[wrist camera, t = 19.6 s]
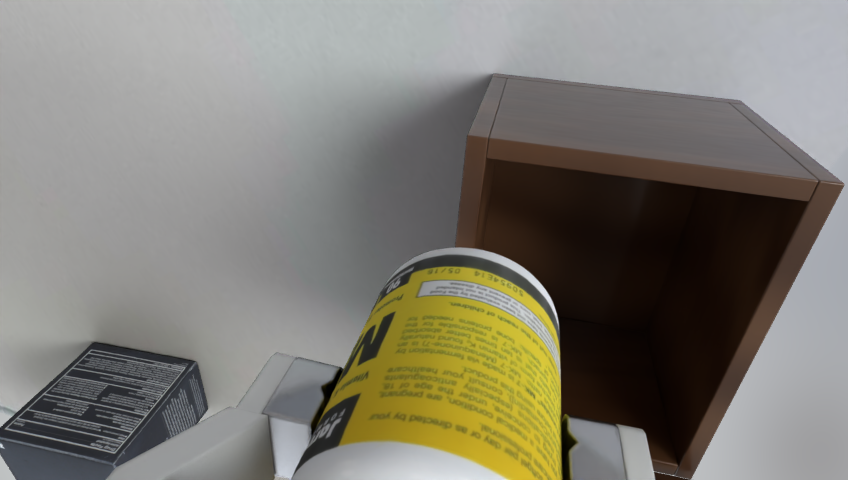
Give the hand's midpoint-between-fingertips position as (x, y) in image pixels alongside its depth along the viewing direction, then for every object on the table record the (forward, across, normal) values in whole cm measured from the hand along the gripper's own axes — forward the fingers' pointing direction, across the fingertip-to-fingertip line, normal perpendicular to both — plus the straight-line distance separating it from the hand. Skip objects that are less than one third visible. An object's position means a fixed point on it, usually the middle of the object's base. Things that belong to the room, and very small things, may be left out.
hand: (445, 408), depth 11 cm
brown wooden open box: (+21, -5, +5) cm, 23 cm away
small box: (+22, +28, +28) cm, 45 cm away
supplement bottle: (+3, 0, 0) cm, 3 cm away
